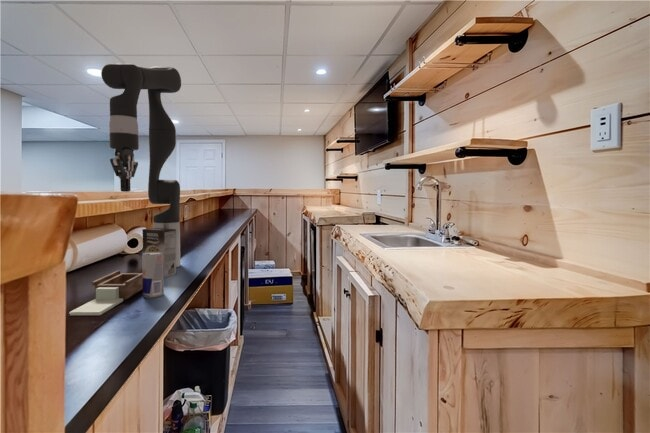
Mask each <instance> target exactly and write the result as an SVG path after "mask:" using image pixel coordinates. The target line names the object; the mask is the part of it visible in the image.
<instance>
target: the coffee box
mask: <svg viewBox="0 0 650 433" xmlns="http://www.w3.org/2000/svg"><path fill="white" fill-rule="evenodd" d="M146 252H162V254H163V274H164V278H167V277H170V276H174V275H177V267H176V229H165V228H153V227H152V228H142V254H143V253H146Z"/></svg>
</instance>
